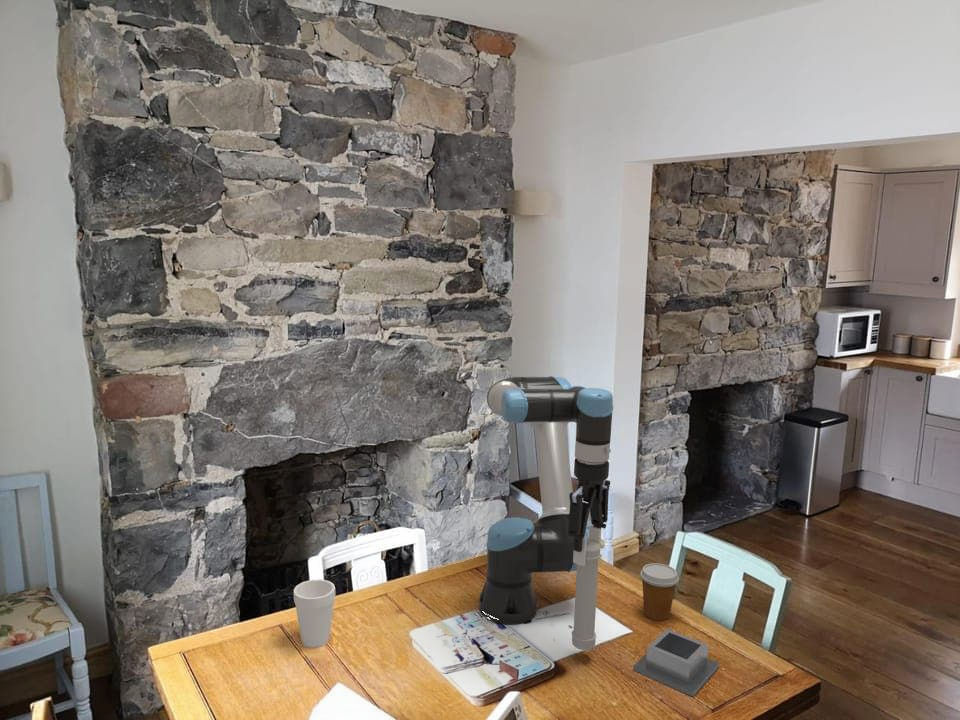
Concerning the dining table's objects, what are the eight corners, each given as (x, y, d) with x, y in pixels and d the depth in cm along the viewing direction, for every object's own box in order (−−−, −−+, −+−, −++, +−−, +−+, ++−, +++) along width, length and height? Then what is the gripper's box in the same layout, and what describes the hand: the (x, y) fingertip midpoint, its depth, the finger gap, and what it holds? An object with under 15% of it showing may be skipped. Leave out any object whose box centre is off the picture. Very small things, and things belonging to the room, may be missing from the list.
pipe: (595, 652, 158) (602, 526, 152) (567, 648, 159) (572, 524, 154) (596, 639, 163) (602, 517, 158) (569, 635, 164) (574, 514, 159)
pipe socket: (633, 670, 157) (634, 646, 156) (661, 644, 168) (662, 622, 167) (693, 697, 149) (695, 672, 148) (718, 667, 159) (720, 644, 158)
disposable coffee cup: (669, 628, 175) (672, 583, 173) (632, 616, 180) (635, 573, 178) (680, 611, 183) (683, 568, 181) (644, 601, 188) (647, 559, 186)
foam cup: (343, 640, 166) (343, 589, 164) (310, 656, 160) (309, 603, 157) (320, 625, 173) (319, 575, 170) (287, 639, 166) (285, 588, 164)
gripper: (584, 473, 144) (578, 579, 148) (627, 454, 158) (621, 550, 162) (553, 465, 149) (549, 567, 153) (598, 447, 163) (593, 541, 167)
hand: (586, 558), depth 158 cm, fingers closed on pipe, 5 cm apart
